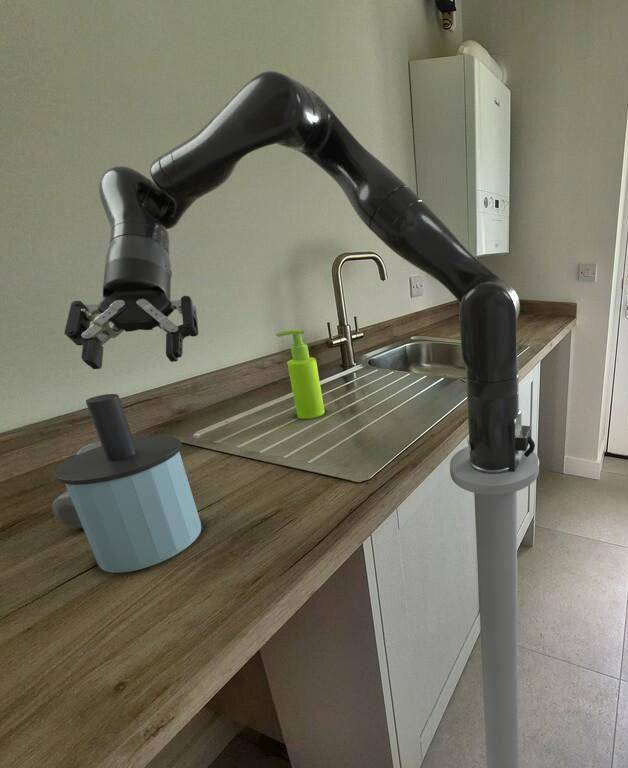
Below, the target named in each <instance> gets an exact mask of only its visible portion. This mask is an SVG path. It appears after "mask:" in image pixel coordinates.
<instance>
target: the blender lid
mask: <svg viewBox="0 0 628 768" xmlns="http://www.w3.org/2000/svg"><path fill="white" fill-rule="evenodd" d="M85 404H86V406H87V409H88V413H89V415H90V418H91V419H92V423H93V426H94V428H95V431H96V434H97V437H98V439H99V440H98V441H100V442H101V445H102V446H100V447H97V448H94V449H91V450H88V451H86V452H84V453H81V454H79V455H77V454H76V455H74V456H73V457H70V458H69V459H68V460H66V461H64V462H63V463H61V464H60V465H59V466H58V467H57V468H56V469H55V472H54V476H55V478H56V480H57V481H58V482H59V483H62V484H64V485H65V484H71V485H82V484H93V483H100V482H105V481H110V480H115V479H119V478H123V477H126V476H130V475H133V474H136V473H139V472H142V471H145V470H148V469H150V468H153V467H155V466H157V465H159V464H161V463H163V462H165V461H167V460H169V459H170V458H172V457H173V456H175V455H176V454H177V453H178V452H181V450H182V447H183V444H182V441H181V439H180V438H178V437H177V436H173V435H168V434H167V435H165V434H156V435H155V434H154V435H145V436H136V437H133V434H132V430H131V429H130V424H129V422H128V418H127V416H126V413H125V410H124V407H123V403H122V401H121V398H120V395H119V394H118V393H107V394H106V393H105V394H100V395H96V396H92V397H90V398H87V399H86V400H85Z"/></svg>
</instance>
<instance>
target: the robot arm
mask: <svg viewBox="0 0 628 768" xmlns="http://www.w3.org/2000/svg"><path fill="white" fill-rule="evenodd" d="M275 144H277V145H278V146H282V147H285V148H288V149H291V150H294V151H297V152H298V153H301V154H302V155H304V156H305V157H307V158H308V159H309V160H311V161H312V162H313V163H315V164H316V165H317V166H318V167H319V168H321V169H322V170H323V171H324V172H325V173H326V174H328V175H329V176H330V177H331V179H333V180H334V181H335V182H336V184H338V186H339V187H340V188H341V190H342V191H343V193H344V194H345V197H346V198H347V200H348V201H349V204H350V205H351V207H352V208H353V211H354V212H355V214H356V215H357V216H358V218H359V219H360V220H361V221H362V223H363V224H364V225H365V226H366V227H367V228H368V229H369V230H370V231H371V232H372V233H373V234H374V235H375V236H376V237H377V238H378V239H379V240H380V241H382V243H383V244H384V245H385V246H387V247H388V248H389V249H390V250H391V251H392V252H393V253H395V254H396V255H397V256H399V257H401V258H402V259H403V260H405V261H406V262H408V263H409V264H411V265H412V266H414V267H416V268H417V269H419V270H420V271H422V272H424V273H426V274H427V275H428V276H430V277H432V278H433V279H435V280H437V281H438V282H439V283H440V284H441V285H442V286H444V287H445V289H447V290H448V291H449V293H451V294H452V296H454V297H455V299H456V300H457V301H458V302H459V303H460V304H459V312H458V315H459V316H458V317H459V319H458V320H459V334H460V347H461V348H460V349H461V357H462V358H461V359H462V362H463V364H464V367H465V381H466V384H465V385H466V402H467V403H466V404H467V423H468V424H467V426H468V436H467V445H468V446H469V449H470V451H469V452H470V465H471V467H472V468H473V469H475V470H477V471H479V472H482V473H488V474H499V473H504V472H508V471H511V472H515V471H516V468H517V466H518V464H519V461H520V459H521V456H522V451H526V450H527V448H529V449H528V450H527V451H526V452H525V453H524V455H525V456H526V457H528V456H529V455H530V454H531V453H532V452H535V449H536V443H535V441H534V440H533V438H532V426H531V425H522V411H521V410H520V403H519V401H520V399H519V395H520V394H519V393H520V392H519V390H520V389H519V373H520V372H519V368H520V367H519V366H520V365H519V363H520V362H519V358H518V346H517V345H518V343H517V341H518V340H517V337H518V335H517V321H518V317H519V315H520V311H521V304H520V299H519V296H518V294H517V292H516V290H515V289H514V288H513V287H512V286H511V285H510V284H509V283H508V282H506V281H505V280H504V279H502V278H501V277H500V276H499V275H497V274H496V273H494V271H492V269H489V268H488V267H487V266H486V265H485V264H484V263H482V262H481V261H480V260H478V259H477V258H476V257H475V256H474V255H473V254H472V253H471V252H470V251H469V250H468V249H467V248H466V246H464V245H463V244H462V243H461V242H460V240H459V239H458V238H457V236H456V235H455V234H454V233H453V232H452V231H451V230H450V229H449V228H448V226H446V224H445V223H444V222H443V221H442V220H441V219H440V218H439V217H438V216H437V214H435V212H434V211H433V210H432V209H431V208H430V207H429V206H428V205H427V204H426V202H424V201H423V200H422V199H421V197H420V196H419V195H417V194H416V193H415V192H414V190H413V189H411V187H409V186H408V185H407V184H406V183H405V182H404V181H403V180H402V179H401V178H399V176H397V175H396V174H395V173H394V172H393V171H392V170H391V169H389V168H388V167H387V166H386V165H385V164H384V163H383V162H382V161H380V159H378V158H377V157H375V156H374V155H373V154H372V153H370V152H369V151H368V150H367V149H366V148H365V147H364V146H363V145H362V144H361V143H360V142H359V141H358V140H357V138H356V137H355V136H354V135H353V133H351V132H350V130H349V129H348V128H347V127H346V126H345V125H344V124H343V122H342V121H341V120H340V119H339V117H338V116H337V115H336V113H334V111H333V110H332V108H330V107H329V105H328V104H327V103H326V102H325V100H323V98H322V97H321V96H320V95H319V94H318V93H316V92H315V91H314V90H312V89H311V88H310V87H308V86H306V85H304V84H302V83H301V82H299V81H297V80H296V79H294V78H292V77H290V76H289V75H286V74H285V73H283V72H278V71H275V70H274V71H273V70H267V71H264V72H261V73H259V74H257V75H256V76H254V77H253V78H251V79H250V80H249V81H248V82H247V83H246V84H245V85H244V86H243V87H242V88H241V89H240V90H239V91H238V92H237V93H236V94H235V95H234V96H233V97H232V98H231V99H230V100H229V102H227V103H226V104H225V105H224V107H223V108H221V110H220V111H219V112H217V113H216V114H215V115H214V117H212V118H211V119H210V120H209V121H208V122H207V123H206V125H204V126H203V127H202V128H201V129H200V130H199V131H197V132H196V133H195V134H193V135H192V136H191V137H190V138H188V139H186V140H185V141H183V142H182V143H180V144H179V145H177V146H175V147H173V148H172V149H170V150H169V151H167V152H165V153H163V154H162V155H161V156H159V157H157V158H156V159H154V160H153V161H152V162H151V164H150V166H149V175H150V177H151V179H152V180H151V179H150V178H149V177H147V176H145V174H142V173H141V172H139V171H138V170H136V169H134V168H132V167H129V166H122V165H118V166H117V165H116V166H112V167H110V168H108V169H107V170H106V171H105V172H104V173H103V174H102V176H101V178H100V181H99V185H98V192H99V193H98V194H99V198H100V202H101V205H102V208H103V210H104V213H105V216H106V219H107V222H108V224H109V226H110V236H109V244H108V248H107V251H106V256H105V265H104V272H103V284H102V299H101V300H100V302H99V303H98V304H85V303H84V302H82V301H81V300H73V301H72V302H71V304H70V307H69V310H68V311H69V312H68V314H67V319H66V324H65V328H64V332H63V333H64V335H65V336H66V337H67V338H68V339H69V340H71V342H73V343H74V344H75V345H77V346H82V350H81V357H80V358H81V359H82V361H83V362H84V363H85V364H86V365H87V366H89V367H90V368H91V369H93V370H100V369H102V368H103V357H104V345H105V344H106V343H107V342H108V341H110V339H115V338H117V337H118V336H119V335H120V334H121V333H123V332H126V333H127V332H134V331H135V332H136V331H140V330H141V331H152V330H153V329H155V328H157V327H158V328H159V329H160V330H161V331H162V332H164V333H165V355H166V358H167V359H168V360H169V361H170V362H171V363H173V362H174V363H175V362H178V361H179V358H182V356H183V353H184V351H183V350H184V349H183V348H184V345H183V343H184V339H185V338H187V337H197V336H198V335H199V334H200V333H199V325H198V317H197V316H198V315H197V314H198V313H197V307H196V306H195V303H194V302H193V300H192V298H191V296H189V295H183V296H181V297H180V299H179V300H171V290H172V289H171V286H172V285H171V284H172V283H171V281H172V278H173V277H172V276H173V273H172V265H171V261H170V235H169V231H168V230H171V229H173V228H174V227H176V226H177V225H178V223H179V222H180V221H181V219H182V218H183V216H184V214H186V212H187V211H188V209H190V207H191V206H193V204H194V203H195V202H196V201H197V200H199V199H200V198H202V197H204V196H205V195H208V194H210V193H211V192H212V191H215V190H216V189H219V188H220V187H221V186H222V185H224V184H225V183H226V182H227V181H228V180H229V179H230V178H231V176H232V174H233V173H234V171H235V170H236V167H237V165H238V164H239V162H240V161H241V160H243V159H244V157H246V156H247V155H249V154H250V153H252V152H255V151H257V150H259V149H262V148H265V147H268V146H272V145H275ZM174 311H178V313H179V314H180V315H181V316H182V317H181V318H182V324H179V325H176V324H175V323H174V322H173V321H172V320H170V318H169V316H171V314H172V313H174ZM97 315H98V316H97ZM96 316H97V317H96ZM91 322H92V323H93V324H92V325H91ZM110 323H111V324H112V326H110ZM468 446H467V447H468Z"/></svg>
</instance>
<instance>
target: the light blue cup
mask: <svg viewBox="0 0 628 768" xmlns="http://www.w3.org/2000/svg"><path fill="white" fill-rule="evenodd" d="M64 486H65V488H66V487H67V490H68V492H69V495H70V497H71V500H72V502H73V505H74V507H75V509H76V512H77V514H78V517H79V519H80V522H81V524H82V526H83V529H82V530H83V531H84V533H85V536H86V539H87V541H88V543H89V546H90V548H91V552H92V553H93V556H94V558H95V561H96V563H97V565H98V567H99V568H100V569H101V570H103V571H104V572H108V573H114V574H118V573H119V574H123V573H130V572H134V571H139V570H143V569H146V568H149V567H152V566H155V565H158V564H160V563H163V562H165V561H167V560H168V559H171V558H172V557H174V556H176V555H177V554H179V553H181V552H183V551H184V550H185V549H187V548H189V546H191V544H193V543H194V542H195V541H196V540H197V539H198V537H199V536H200V534H201V531H202V522H201V519H200V516H199V513H198V509H197V506H196V503H195V499H194V496H193V492H192V489H191V486H190V483H189V478H188V476H187V471H186V468H185V466H184V462H183V460H182V455H181V451H179V452H178V453H177V454H176V455H175V456H173V457H172V458H170V459H169V460H167V461H165V462H163V463H161V464H159V465H157V466H155V467H153V468H150V469H148V470H145V471H142V472H139V473H136V474H133V475H130V476H126V477H123V478H119V479H115V480H110V481H105V482H100V483H93V484H82V485H71V484H64Z"/></svg>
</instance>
